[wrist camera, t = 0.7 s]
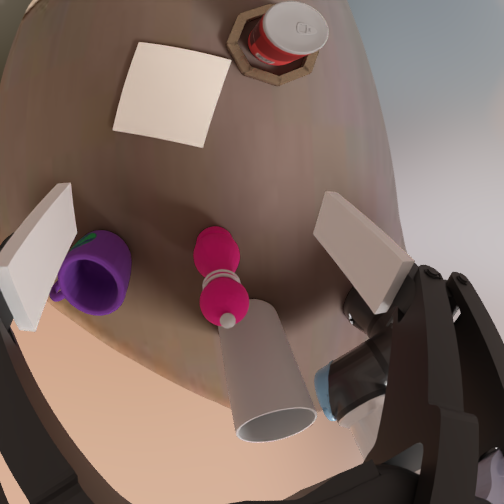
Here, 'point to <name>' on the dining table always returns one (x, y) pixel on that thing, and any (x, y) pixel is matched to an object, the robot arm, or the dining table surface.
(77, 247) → the mug
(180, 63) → the coaster
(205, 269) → the pepper mill
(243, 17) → the wooden polygonal ring
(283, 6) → the canned food
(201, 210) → the dining table surface
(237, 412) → the cylinder vase
